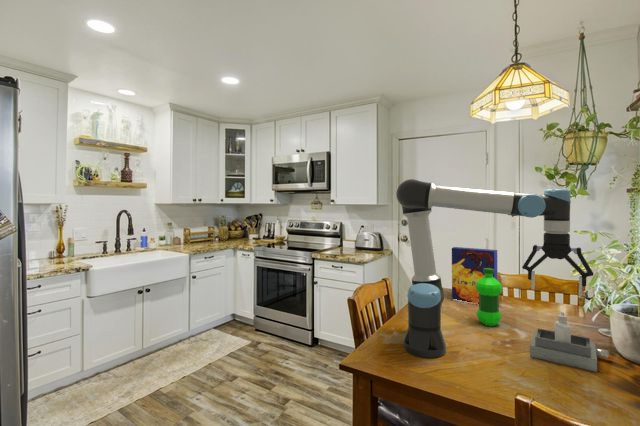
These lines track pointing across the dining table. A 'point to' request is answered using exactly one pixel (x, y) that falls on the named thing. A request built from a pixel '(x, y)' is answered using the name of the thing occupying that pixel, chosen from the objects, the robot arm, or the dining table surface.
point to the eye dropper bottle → (562, 329)
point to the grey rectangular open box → (566, 350)
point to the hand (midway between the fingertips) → (555, 292)
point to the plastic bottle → (488, 298)
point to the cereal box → (470, 271)
